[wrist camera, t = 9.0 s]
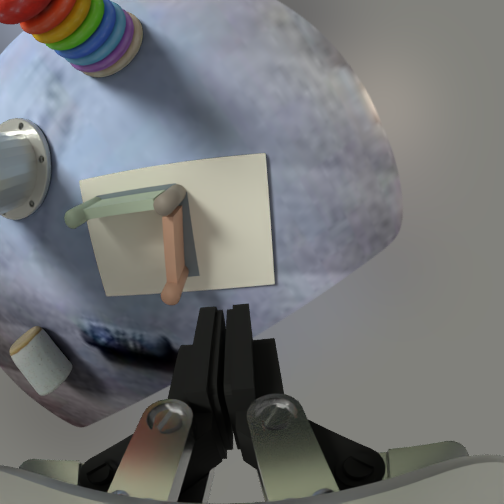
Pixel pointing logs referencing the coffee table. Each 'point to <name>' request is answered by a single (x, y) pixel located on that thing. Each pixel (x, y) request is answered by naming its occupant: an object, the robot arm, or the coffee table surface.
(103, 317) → the coffee table surface
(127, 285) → the board
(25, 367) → the ceramic mug
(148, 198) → the bar
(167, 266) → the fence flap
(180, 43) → the coffee table surface
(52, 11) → the stacking toy
